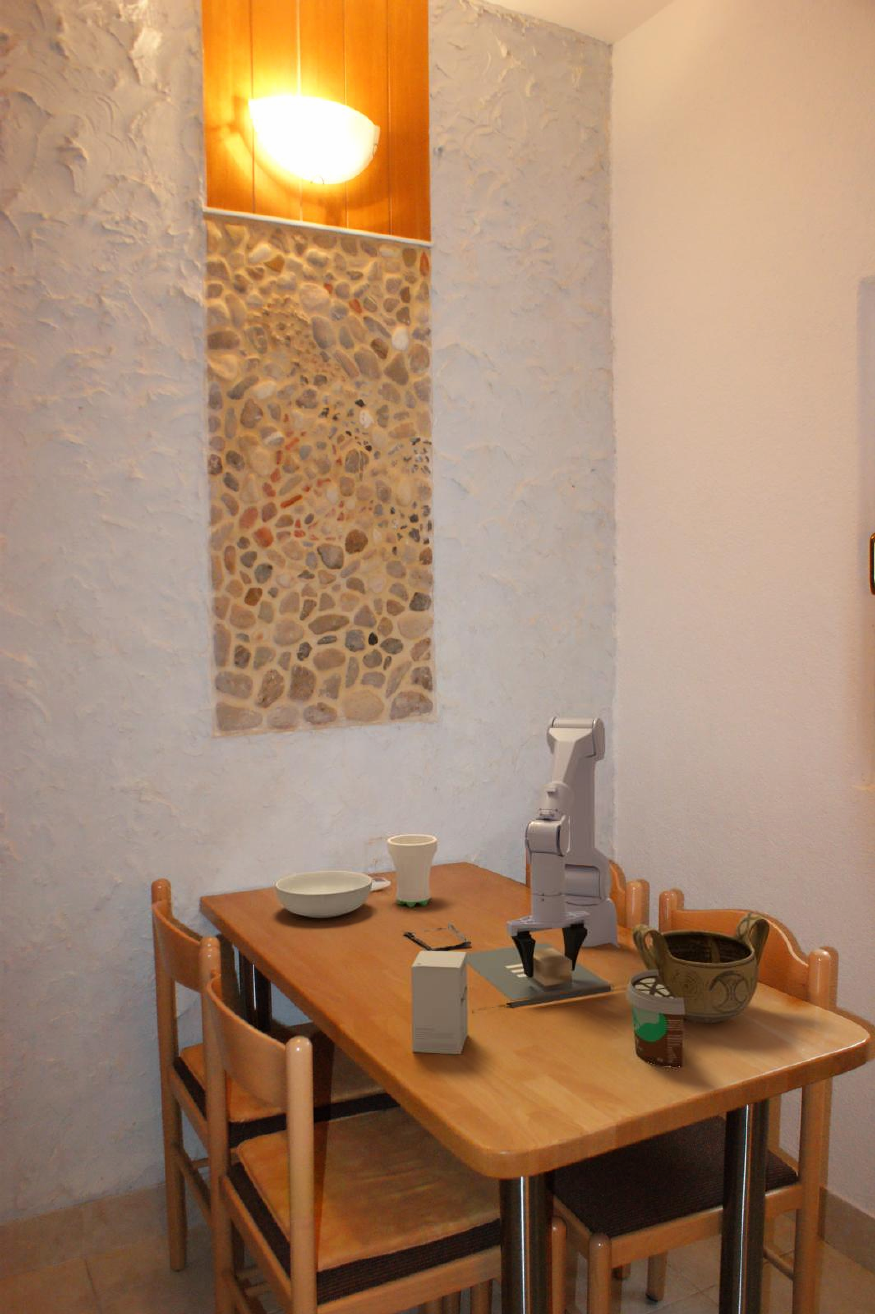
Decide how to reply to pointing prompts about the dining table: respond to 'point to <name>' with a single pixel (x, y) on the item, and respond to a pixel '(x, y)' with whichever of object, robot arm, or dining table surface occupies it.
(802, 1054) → the dining table surface
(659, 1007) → the food container
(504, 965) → the slate board
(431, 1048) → the supplement box
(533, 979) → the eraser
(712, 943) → the ceramic bowl
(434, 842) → the cup
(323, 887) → the cream oval piece
